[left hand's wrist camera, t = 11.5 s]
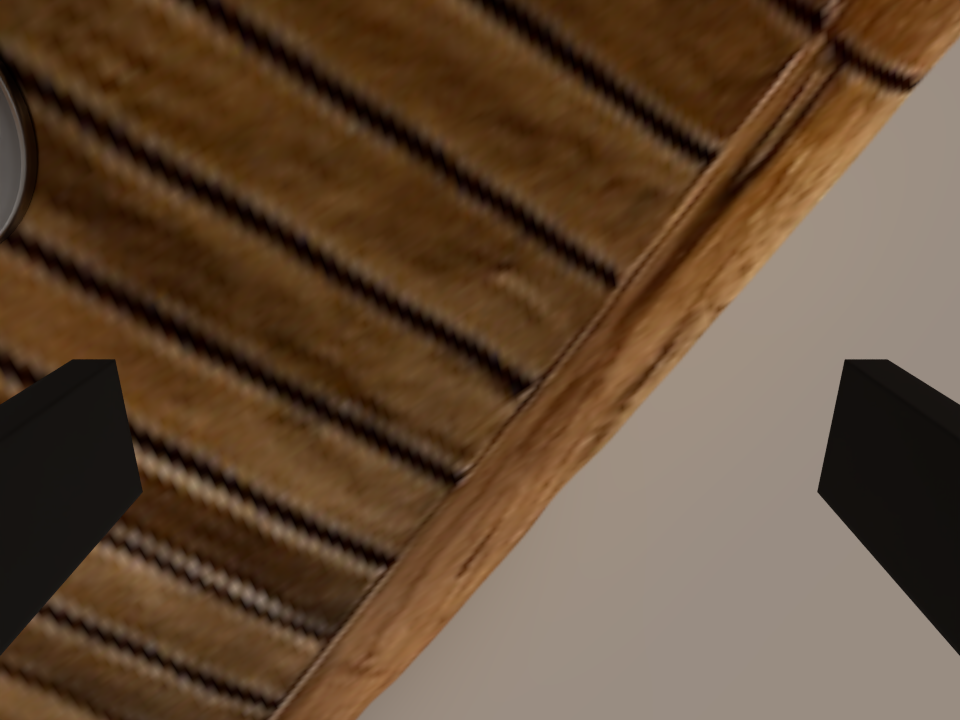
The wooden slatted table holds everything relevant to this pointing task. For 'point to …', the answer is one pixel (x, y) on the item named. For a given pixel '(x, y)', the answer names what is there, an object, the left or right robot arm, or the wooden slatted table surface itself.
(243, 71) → the wooden slatted table surface
